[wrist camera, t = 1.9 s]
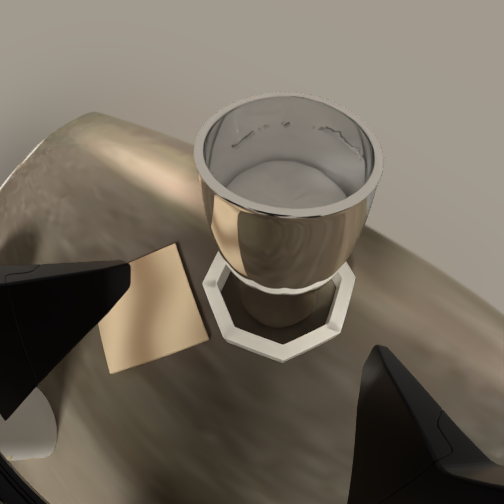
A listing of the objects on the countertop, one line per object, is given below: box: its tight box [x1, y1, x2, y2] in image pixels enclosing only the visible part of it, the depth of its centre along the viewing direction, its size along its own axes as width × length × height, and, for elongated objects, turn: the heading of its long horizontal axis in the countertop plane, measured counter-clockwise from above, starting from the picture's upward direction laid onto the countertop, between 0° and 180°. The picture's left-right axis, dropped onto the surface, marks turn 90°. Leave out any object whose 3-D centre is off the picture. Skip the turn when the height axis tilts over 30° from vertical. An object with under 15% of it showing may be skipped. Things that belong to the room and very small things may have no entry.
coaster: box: [98, 244, 210, 374], centre depth 22 cm, size 9×9×1 cm
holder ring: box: [202, 251, 356, 363], centre depth 21 cm, size 11×11×2 cm
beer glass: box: [194, 92, 384, 328], centre depth 15 cm, size 7×7×15 cm
